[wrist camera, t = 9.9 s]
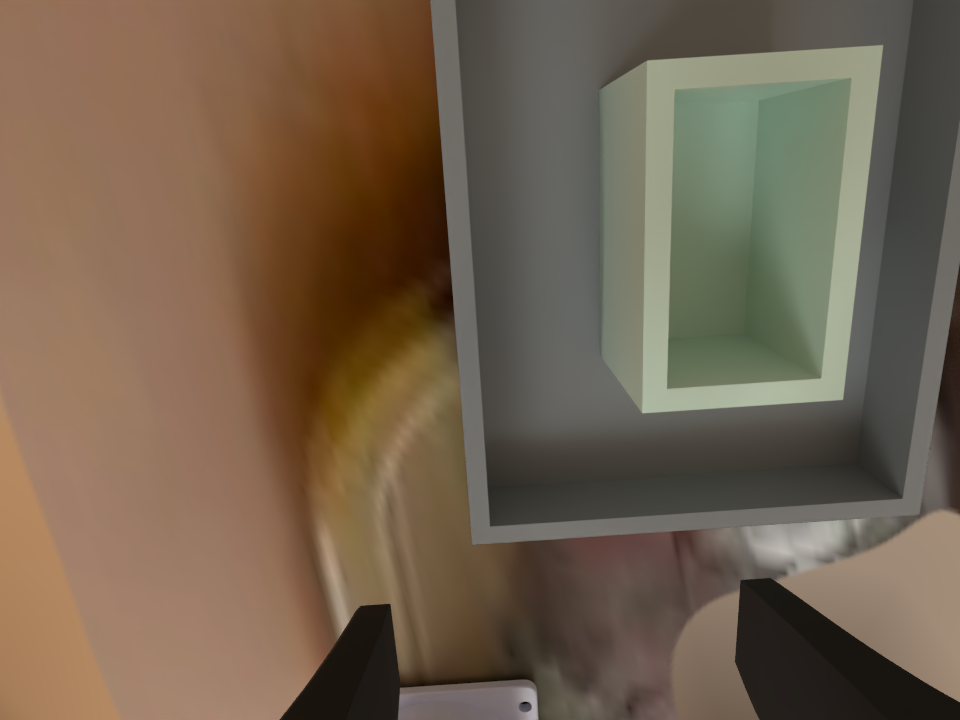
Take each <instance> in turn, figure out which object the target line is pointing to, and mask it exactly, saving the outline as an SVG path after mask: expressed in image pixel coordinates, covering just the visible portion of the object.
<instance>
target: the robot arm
mask: <svg viewBox="0 0 960 720" xmlns="http://www.w3.org/2000/svg"><path fill="white" fill-rule="evenodd" d="M735 662H736V665H737V668H738V670H739V673H740V675H741V678H742V680H743V683H744V685H745V688H746V690H747V693H748V695H749V698H750V700H751V702H752V704H753V707H754V709H755V712H756V713H757V715H758V717H759V719H760V720H960V702H958V701H956V700H954V699H953V698H951V697H949V696H947V695H945V694H944V693H942V692H940V691H938V690H937V689H935V688H933V687H932V686H930V685H928V684H927V683H925V682H923V681H922V680H920V679H918V678H917V677H915V676H913V675H912V674H910V673H909V672H907V671H906V670H904V669H902V668H901V667H899V666H898V665H896V664H894V663H893V662H891V661H890V660H888V659H887V658H885V657H883V656H882V655H880V654H879V653H877V652H876V651H874V650H873V649H871V648H870V647H868V646H867V645H865V644H864V643H862V642H861V641H859V640H858V639H856V638H855V637H854V636H852V635H851V634H849V633H848V632H846V631H845V630H843V629H842V628H841V627H839V626H838V625H836V624H835V623H834V622H832V621H831V620H829V619H828V618H827V617H825V616H824V615H822V614H821V613H819V612H818V611H817V610H815V609H814V608H813V607H811V606H810V605H808V604H807V603H805V602H804V601H803V600H801V599H800V598H799V597H797V596H796V595H794V594H793V593H792V592H790V591H789V590H787V589H786V588H784V587H783V586H781V585H780V584H779V583H777V582H776V581H774V580H773V579H771V578H765V579H750V580H741V583H740V598H739V613H738V627H737V642H736V656H735ZM522 702H529V703H527V704H521V703H522ZM280 720H538V700H537V689H536V686H535V684H534V683H533V682H532V681H529V680H509V681H494V682H479V683H465V684H450V685H435V686H421V687H406V688H400V678H399V670H398V662H397V654H396V646H395V638H394V630H393V622H392V614H391V606H390V604H382V605H367V606H360V607H359V608H358V609H357V610H356V612H355V613H354V615H353V617H352V618H351V620H350V622H349V623H348V625H347V626H346V628H345V630H344V631H343V633H342V634H341V636H340V637H339V639H338V641H337V642H336V644H335V645H334V647H333V648H332V650H331V651H330V653H329V654H328V656H327V657H326V659H325V660H324V661H323V663H322V664H321V666H320V667H319V668H318V670H317V671H316V673H315V674H314V676H313V677H312V678H311V680H310V681H309V683H308V684H307V685H306V687H305V688H304V689H303V691H302V692H301V693H300V694H299V696H298V697H297V698H296V700H295V701H294V702H293V703H292V705H291V706H290V707H289V708H288V710H287V711H286V712H285V714H284V715H283V716H282V717H281V719H280Z"/></svg>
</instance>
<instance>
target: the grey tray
mask: <svg viewBox="0 0 960 720" xmlns="http://www.w3.org/2000/svg"><path fill="white" fill-rule="evenodd" d="M430 2H431V15H432V28H433V41H434V54H435V67H436V80H437V93H438V107H439V120H440V133H441V146H442V159H443V172H444V185H445V198H446V211H447V224H448V237H449V250H450V263H451V276H452V289H453V302H454V315H455V328H456V341H457V354H458V367H459V380H460V394H461V407H462V420H463V433H464V446H465V459H466V472H467V485H468V498H469V511H470V524H471V537H472V545H477V544H492V543H507V542H522V541H537V540H551V539H566V538H581V537H596V536H611V535H625V534H640V533H655V532H670V531H685V530H699V529H714V528H729V527H744V526H759V525H773V524H788V523H803V522H818V521H833V520H847V519H862V518H877V517H892V516H907V515H919V513H920V506H921V500H922V494H923V488H924V482H925V475H926V469H927V463H928V457H929V450H930V444H931V438H932V432H933V426H934V419H935V413H936V407H937V401H938V394H939V388H940V382H941V376H942V370H943V363H944V357H945V351H946V345H947V338H948V332H949V326H950V320H951V314H952V307H953V301H954V295H955V289H956V282H957V276H958V270H959V264H960V0H430ZM876 45H883V51H882V60H881V69H880V78H879V87H878V96H877V104H876V113H875V122H874V131H873V140H872V149H871V157H870V166H869V175H868V184H867V193H866V201H865V210H864V219H863V228H862V237H861V246H860V254H859V263H858V272H857V281H856V290H855V298H854V307H853V316H852V325H851V334H850V343H849V351H848V360H847V369H846V378H845V387H844V395H843V400H833V401H819V402H804V403H789V404H774V405H759V406H744V407H729V408H714V409H700V410H685V411H670V412H655V413H642V412H641V411H640V410H639V408H638V407H637V405H636V404H635V403H634V401H633V400H632V399H631V397H630V396H629V394H628V393H627V392H626V390H625V389H624V388H623V386H622V385H621V384H620V382H619V381H618V379H617V378H616V377H615V375H614V374H613V373H612V371H611V370H610V368H609V367H608V366H607V364H606V363H605V362H604V360H603V359H602V358H601V351H600V213H599V90H600V89H601V88H603V87H605V86H606V85H608V84H610V83H611V82H613V81H615V80H616V79H618V78H619V77H621V76H623V75H624V74H626V73H628V72H629V71H631V70H632V69H634V68H636V67H637V66H639V65H641V64H642V63H644V62H646V61H648V60H663V59H678V58H693V57H709V56H724V55H739V54H754V53H769V52H785V51H800V50H815V49H830V48H846V47H861V46H876Z"/></svg>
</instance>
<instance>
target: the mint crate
mask: <svg viewBox="0 0 960 720" xmlns="http://www.w3.org/2000/svg"><path fill="white" fill-rule="evenodd" d="M882 51H883V45H876V46H861V47H846V48H830V49H815V50H800V51H785V52H769V53H754V54H739V55H724V56H709V57H693V58H678V59H663V60H648V61H646V62H644V63H642V64H641V65H639V66H637V67H636V68H634V69H632V70H631V71H629V72H628V73H626V74H624V75H623V76H621V77H619V78H618V79H616V80H615V81H613V82H611V83H610V84H608V85H606V86H605V87H603V88H601V89H600V90H599V213H600V351H601V358H602V359H603V360H604V362H605V363H606V364H607V366H608V367H609V368H610V370H611V371H612V373H613V374H614V375H615V377H616V378H617V379H618V381H619V382H620V384H621V385H622V386H623V388H624V389H625V390H626V392H627V393H628V394H629V396H630V397H631V399H632V400H633V401H634V403H635V404H636V405H637V407H638V408H639V410H640V411H641V412H642V413H655V412H670V411H685V410H700V409H714V408H729V407H744V406H759V405H774V404H789V403H804V402H819V401H833V400H843V395H844V387H845V378H846V369H847V360H848V351H849V343H850V334H851V325H852V316H853V307H854V298H855V290H856V281H857V272H858V263H859V254H860V246H861V237H862V228H863V219H864V210H865V201H866V193H867V184H868V175H869V166H870V157H871V149H872V140H873V131H874V122H875V113H876V104H877V96H878V87H879V78H880V69H881V60H882Z"/></svg>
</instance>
